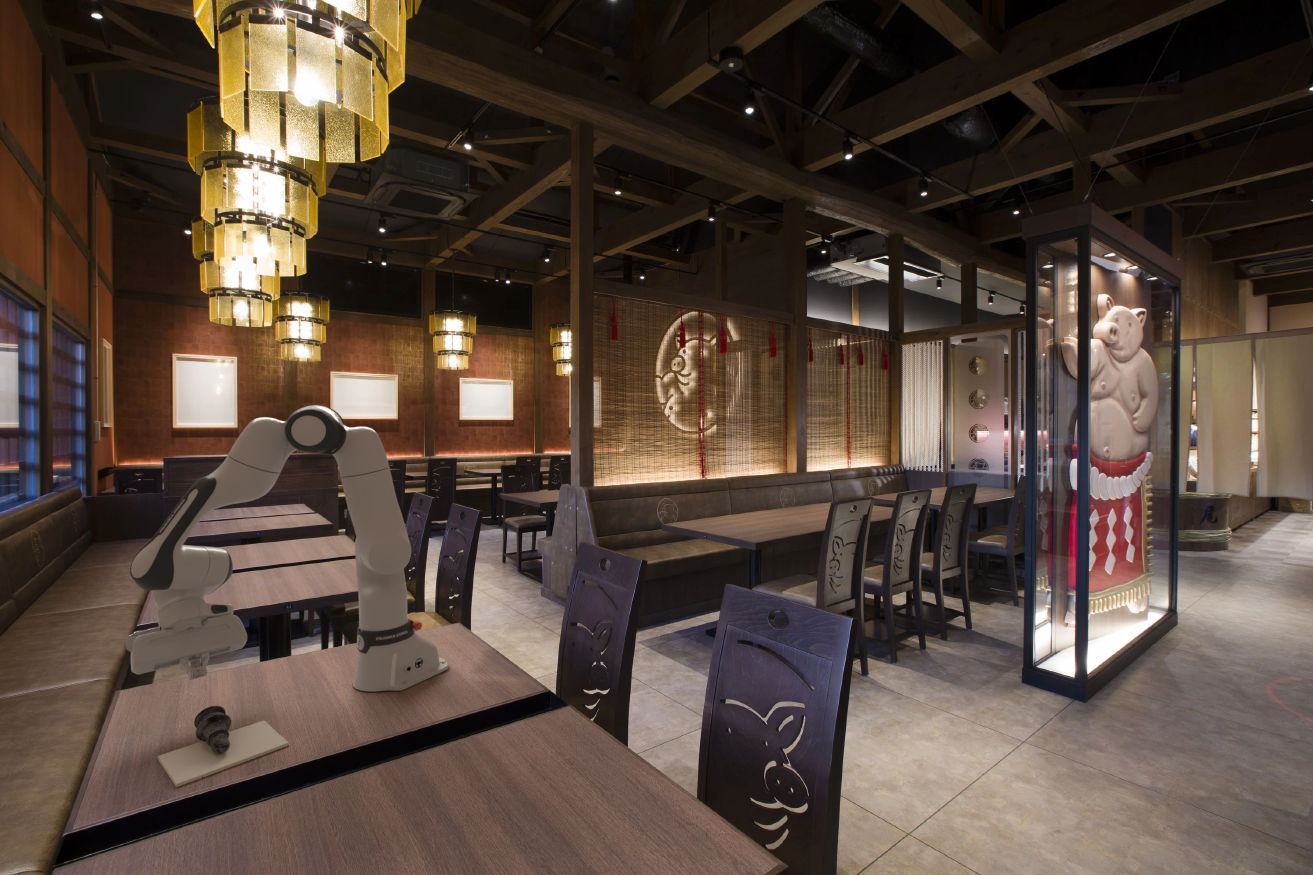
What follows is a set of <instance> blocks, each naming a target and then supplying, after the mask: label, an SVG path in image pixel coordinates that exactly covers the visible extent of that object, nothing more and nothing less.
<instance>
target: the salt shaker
mask: <svg viewBox="0 0 1313 875" xmlns="http://www.w3.org/2000/svg"><path fill="white" fill-rule="evenodd" d="M193 725H194V727H195V728H196V729H195V736H196V738H197V739H198V740H199V741H200V742H201V741H205V742H207V744H208V746H210V747H211V748H212V750H213V752H214V753H215V754H222V753H224V752H226V751H227V750H228V749H229V747H230V742H229V739H228V738H229V733H228V732H229V730H230V728H231V725H232V719H231V717H230V716H229V715H228V714H227V711H226V709H225V708H224V707H222V706H220V705H212V706H208V707H206V708H204V709H202V710H201V711H200V712H198V714H196V716H195V718H194V721H193Z"/></svg>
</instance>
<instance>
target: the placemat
mask: <svg viewBox="0 0 1313 875" xmlns="http://www.w3.org/2000/svg"><path fill="white" fill-rule="evenodd" d="M228 733H229V738H228V739H229V742H230V747H229V749H228V750H227V751H226V752H224V753H222V754H215V753H214V752H213V750H212V748H211V747H210V746H208V744H207V742H205V741H201V740H200V741H198V742H195V743H193V744H190V745H187V746H186V745H185V746H184V747H180V748H177V749H175V750H171V751H168V752H166V753H165V752H164V753H163V754H160V755H157V760H158V762H159V764H160V765H161V767H162V768H163V769H164V771H165V773H166V775H168V777H169V778H170V780H171V782H172V783H173V784H174V787H176V788H178V787H182V786H184V785H186V784H188V783H192V782H195V781H198V780H200V779H203V778H205V777H208V776H211V775H213V774H216V773H219V772H222V771H225V770H226V769H227V770H228V769H229V768H232V767H235V766H237V765H240V764H243V763H245V762H248V761H252V760H254V759H257V758H258V757H262V756H265V755H267V754H270V753H272V752H275V751H278V750H281V749H283V748H285V747H288V746H290V744H289V742H288V741H287V740H286V738H284V737H283V736H282V735H281V734H279V733H278V731H276V729H274V728H273V727H272V726H271V725H270V724H268V722H266V721H265V720H262V721H261V720H260V721H258V722H255V723H253V724H249V725H247V726H243V727H240V728H236V729H235V730H231V731H228ZM202 777H203V778H202Z"/></svg>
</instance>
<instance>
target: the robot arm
mask: <svg viewBox="0 0 1313 875" xmlns="http://www.w3.org/2000/svg"><path fill="white" fill-rule="evenodd" d="M381 440H382V439H381V438H380V436H379V434H378V433H377V431H375V430H374V429H373V428H371V427H368V426H355V427H354V426H353V427H350V426H346V424H345V421H344V420H343V417H342V416H341V415H340V414H339V413H338V412H337V411H336V410H334V409H333V408H331V407H327V406H323V405H318V404H316V405H315V404H314V405H313V404H312V405H307V406H303V407H301V408H299V409H296V410H295V411H293V412H292V413H291V414H290V415H289V416H288V418H287V419H286V420H280V419H277V418H273V417H268V416H266V417H265V416H263V417H262V416H261V417H257V418H254V419H253V420H251V421H250V422H249V423H248V424H247V425H246V427H245V428H244V429H243V430H242V432H241V433H240V434H239V436H238V437H237V439H236V440H235V441H234V443H233V445H232V447H231V448H230V451H229V452H228V454H227V455H226V458H225V459H224V461H223V462H222V463H221V464H220V465H219V466H218V467H217V468H216V469H215V470H213V471H212V472H211V473H210V474H208V475H206V476H202V477H200V478H199V479H197V480H196V481H194V483H193V484H192V485H191V487H190V488H189V489H188V490H187V491H186V493H185V494H184V495H183V496H182V498H181V499H180V500H179V502H178V503H177V504H176V505H175V507H174V509H173V510H172V511H171V513H170V514H169V515H168V517H166V519H165V521H164V522H163V523H162V525H160V527H159V529H158V530H157V531H156V533H155V534H154V535H153V536H152V538H150V540H149V541H148V542H146V543H145V545H144V546H143V547H142V548H140V549H139V551H138V552H137V553H136V555H135V556H134V557H133V559H132V561H131V563H130V569H129V573H130V576H131V578H132V580H133V581H134V582H135V585H137V586H138V587H140V588H141V589H142V590H144V591H146V592H151V597H152V601H153V603H154V605H155V606H156V608H157V612H156V618H157V623H158V626H155V627H151V628H148V629H143V630H137V631H134V632H133V633H132V634H130V635H128V636H127V637H126V639H125V641H124V643H125V648H126V650H127V651H128V652H130V670H131V672H132V673H134V674H135V675H142V674H145V673H146V674H147V673H150V672H154V671H158V670H162V669H166V668H171V667H174V666H178V667H179V669H180V670H181V671H182V672H184V673H185V674H187V676H188V680H189V681H192V680H195V679H198V678H203V677H206V676H207V675H208V670H207V665H208V662H209V660H210V657H214V656H218V655H222V654H226V653H229V652H230V653H231V652H235V651H238V650H242V649H243V648H244V647H245V645H246V643H247V641H248V634H247V630H246V628H245V626H244V624H243V622H242V620H241V619H240V617H239V616H237V615H235V614H234V611H235V610H234V606H233V605H232V604H227V603H225V604H223V603H211V602H210V603H207V602H206V601H205V597H206V596H207V595H210V594H212V593H214V592H215V591H217V590H218V589H219V588H220V587H222V586H223V585H225V583H227V582H228V580H229V579H231V577H232V574H233V570H234V569H233V568H234V565H233V563H234V562H233V559H232V557H231V554H230V552H228V550H226V549H225V548H221V547H215V546H204V545H190V544H189V545H187V544H184V543H186V540H187V539H188V538H189V537H190V535H191V534H192V532H193V531H194V530H195V529H196V527H197V525H199V523H200V522H201V521H202V519H203V518H204V517H205V516H206V515H207V514H208V513H210V512H212V511H214V510H217V509H220V508H221V507H226V506H230V505H234V504H235V505H236V504H241V503H243V504H244V503H247V502H252V501H255V500H258V499H260V498H262V497H263V496H266V495H267V494H268V493H269V492H270V491H271V489H272V488H273V487H274V486H275V484H276V483H277V481H278V479H279V476H280V474H281V473H282V470H283V468H284V466H285V464H286V462H287V460H288V458H290V456H291V455H292V454H293V453H294V452H296V451H299V452H302V453H306V454H311V455H312V454H317V455H326V456H333V458H334V459H335V461H336V464H337V466H338V471H339V475H340V480H341V484H342V485H341V486H342V488H343V493H344V497H345V498H344V499H345V501H346V505H347V510H348V514H349V515H350V519H351V522H352V526H353V529H354V534H355V536H356V537H355V541H354V550H355V551H354V554H355V568H356V569H355V570H356V581H357V593H358V619H359V620H358V623H359V624H358V626H357V627H356V628H357V629H356V632H357V633H356V634H357V635H356V636H357V637H356V645H357V653H358V656H357V664H356V669H355V674H354V678H353V680H352V687H353V688H354V689H356V690H358V691H362V692H382V691H383V692H384V691H385V692H386V691H395V692H398V691H400V692H401V691H404V690H406V689H409V688H411V687H413V686H414V685H417V684H420V683H421V682H424V681H425V680H427V679H430V678H432V677H435V676H436V675H439V674H441V673H443V672H445V671H447V670H448V669H449V664H448V661H447V660H446V659H445V658H443V657H441V656H439V652H438V648H437V646H436V644H435V643H434V642H433V641H431V640H429V639H428V638H426V637H424V636H422V635H421V634H419V633H418V632H415V630H416V631H420V630H421V629H422V628H423V623H422V622H421V621H419V620H413V619H411V618H408V588H407V583H406V582H407V581H406V577H405V570H404V569H405V568H406V567H407V565H408V564H409V562H410V560H411V557H412V545H411V542H410V539H409V534H408V530H407V528H406V524H405V521H404V517H403V514H402V510H401V508H400V505H399V502H398V498H397V493H396V491H395V485H394V482H393V477H392V472H391V467H390V464H389V461H388V460H389V459H388V457H387V453H386V451H385V447H384V445H383V443H382V441H381ZM198 660H199V662H200V664H202V665H201V666H197V667H192V666H191V665H190V664H189V663H190V662H194V661H198Z"/></svg>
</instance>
